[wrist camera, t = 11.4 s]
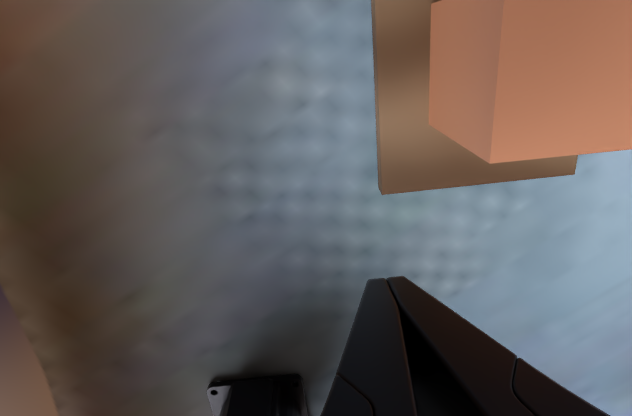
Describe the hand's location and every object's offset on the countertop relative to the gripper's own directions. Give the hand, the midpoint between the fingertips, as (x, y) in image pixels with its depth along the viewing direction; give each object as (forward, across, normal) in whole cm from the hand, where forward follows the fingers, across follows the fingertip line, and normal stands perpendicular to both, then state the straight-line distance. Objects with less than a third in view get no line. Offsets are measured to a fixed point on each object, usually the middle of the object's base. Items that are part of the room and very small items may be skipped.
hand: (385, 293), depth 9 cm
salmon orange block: (+11, -7, -4) cm, 14 cm away
